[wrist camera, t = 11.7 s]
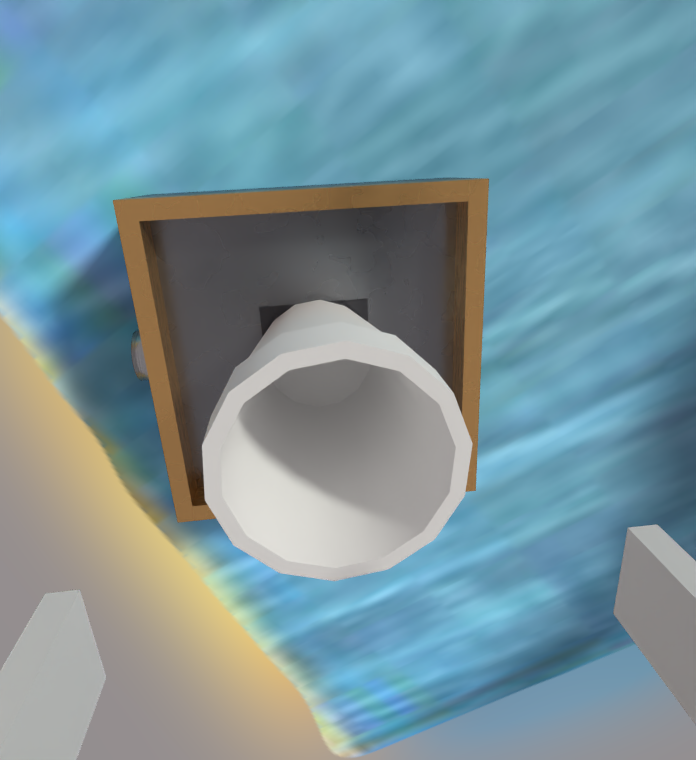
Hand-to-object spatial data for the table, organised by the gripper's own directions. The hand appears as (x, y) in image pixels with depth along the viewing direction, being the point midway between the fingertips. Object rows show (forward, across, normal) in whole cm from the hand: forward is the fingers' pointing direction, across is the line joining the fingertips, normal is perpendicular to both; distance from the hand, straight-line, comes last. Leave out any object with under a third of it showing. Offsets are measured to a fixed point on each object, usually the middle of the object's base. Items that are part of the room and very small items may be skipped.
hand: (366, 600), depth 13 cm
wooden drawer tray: (+24, 0, 0) cm, 24 cm away
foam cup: (+19, 0, 0) cm, 19 cm away
